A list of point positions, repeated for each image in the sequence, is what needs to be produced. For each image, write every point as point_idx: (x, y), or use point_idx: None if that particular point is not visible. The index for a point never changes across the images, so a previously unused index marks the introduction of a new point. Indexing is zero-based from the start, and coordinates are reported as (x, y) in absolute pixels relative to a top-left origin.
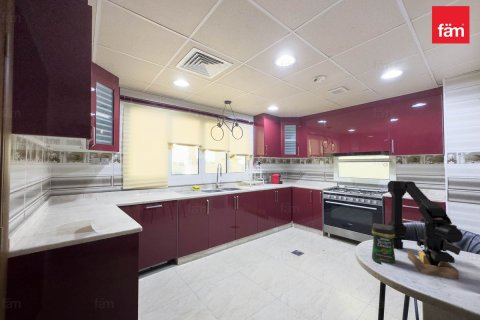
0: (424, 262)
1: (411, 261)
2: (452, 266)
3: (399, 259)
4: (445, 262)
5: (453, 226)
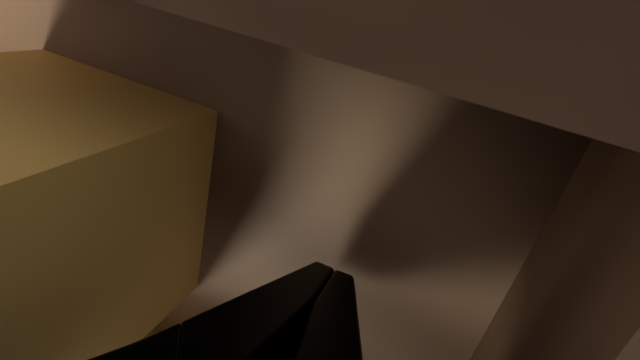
0: (152, 319)
1: None
2: (523, 10)
3: None
4: (150, 6)
5: None
